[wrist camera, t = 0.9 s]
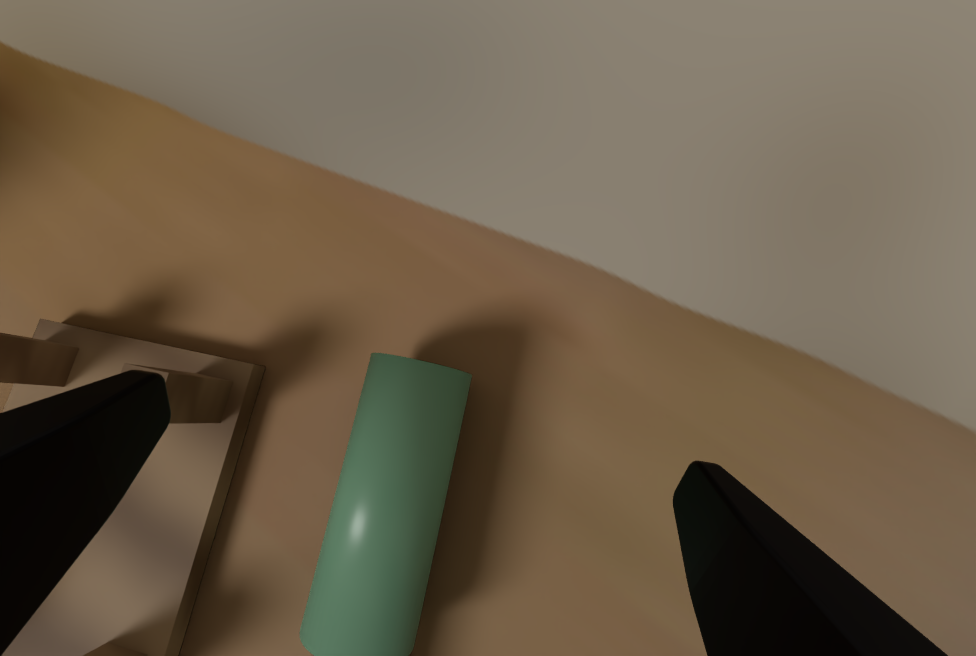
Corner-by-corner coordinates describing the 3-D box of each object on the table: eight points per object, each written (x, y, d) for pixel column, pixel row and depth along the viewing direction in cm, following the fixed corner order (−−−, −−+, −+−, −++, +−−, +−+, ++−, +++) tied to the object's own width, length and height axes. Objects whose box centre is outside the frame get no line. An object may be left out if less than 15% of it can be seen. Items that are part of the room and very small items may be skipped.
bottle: (379, 359, 22) (363, 347, 17) (469, 378, 22) (475, 372, 18) (280, 747, 19) (230, 852, 14) (385, 765, 19) (368, 873, 15)
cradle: (158, 722, 20) (37, 822, 15) (-69, 648, 21) (-247, 717, 16) (265, 366, 23) (194, 352, 18) (59, 322, 24) (-60, 297, 19)
